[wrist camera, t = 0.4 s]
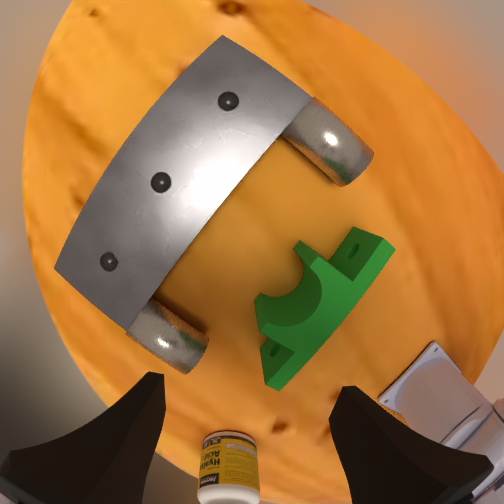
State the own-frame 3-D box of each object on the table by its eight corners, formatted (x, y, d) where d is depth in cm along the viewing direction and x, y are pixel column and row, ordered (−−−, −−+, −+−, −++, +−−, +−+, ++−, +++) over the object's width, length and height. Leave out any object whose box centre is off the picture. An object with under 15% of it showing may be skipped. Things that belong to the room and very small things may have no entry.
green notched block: (324, 203, 18) (351, 208, 13) (362, 235, 19) (396, 248, 14) (229, 331, 19) (229, 368, 15) (270, 354, 20) (279, 392, 16)
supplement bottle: (215, 423, 22) (211, 511, 12) (265, 437, 22) (276, 519, 13) (194, 448, 23) (186, 525, 13) (240, 461, 23) (244, 534, 14)
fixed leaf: (359, 153, 17) (381, 147, 14) (186, 356, 20) (179, 382, 17) (225, 46, 15) (223, 23, 12) (66, 262, 17) (43, 275, 14)
